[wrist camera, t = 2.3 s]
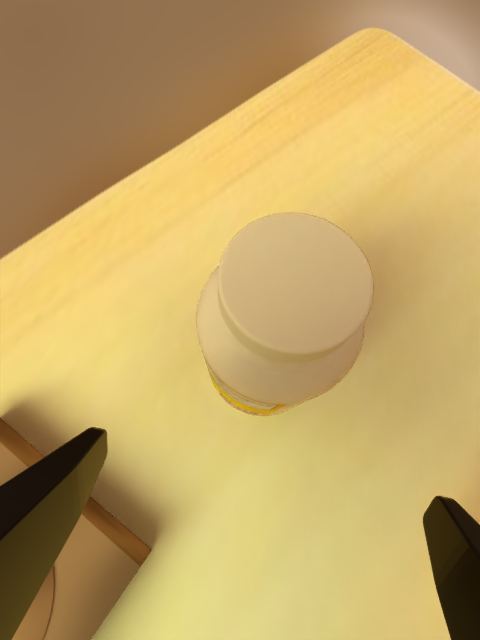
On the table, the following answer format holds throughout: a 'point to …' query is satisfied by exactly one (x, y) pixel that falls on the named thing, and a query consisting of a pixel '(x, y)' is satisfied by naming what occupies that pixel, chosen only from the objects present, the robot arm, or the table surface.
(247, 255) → the supplement bottle
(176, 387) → the table surface
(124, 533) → the base slab
